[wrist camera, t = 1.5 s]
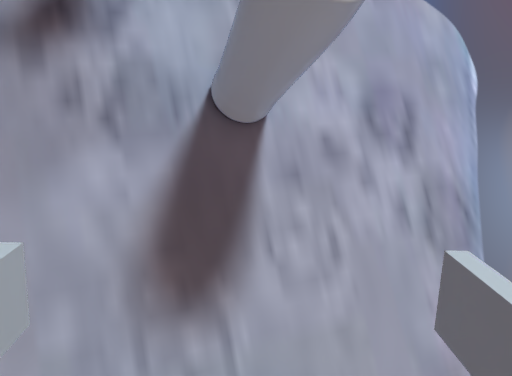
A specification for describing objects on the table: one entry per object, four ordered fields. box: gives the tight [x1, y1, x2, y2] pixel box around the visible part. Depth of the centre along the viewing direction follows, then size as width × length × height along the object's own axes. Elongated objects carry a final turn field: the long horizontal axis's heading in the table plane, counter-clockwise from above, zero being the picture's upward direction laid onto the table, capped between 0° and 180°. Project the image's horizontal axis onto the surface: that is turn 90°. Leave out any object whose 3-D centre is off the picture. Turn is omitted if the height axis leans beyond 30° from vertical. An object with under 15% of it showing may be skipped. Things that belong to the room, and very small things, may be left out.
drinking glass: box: [211, 0, 365, 123], centre depth 32 cm, size 7×7×15 cm
